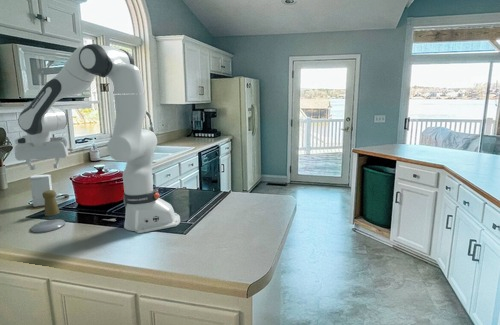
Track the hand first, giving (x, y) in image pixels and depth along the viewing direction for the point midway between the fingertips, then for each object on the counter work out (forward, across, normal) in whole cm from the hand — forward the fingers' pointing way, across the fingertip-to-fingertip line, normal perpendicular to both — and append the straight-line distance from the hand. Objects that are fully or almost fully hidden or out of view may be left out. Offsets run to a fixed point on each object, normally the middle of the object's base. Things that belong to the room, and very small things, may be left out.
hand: (44, 168), depth 145 cm
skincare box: (+22, +9, -17) cm, 29 cm away
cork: (+22, 0, 0) cm, 22 cm away
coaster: (+21, -4, +17) cm, 28 cm away
